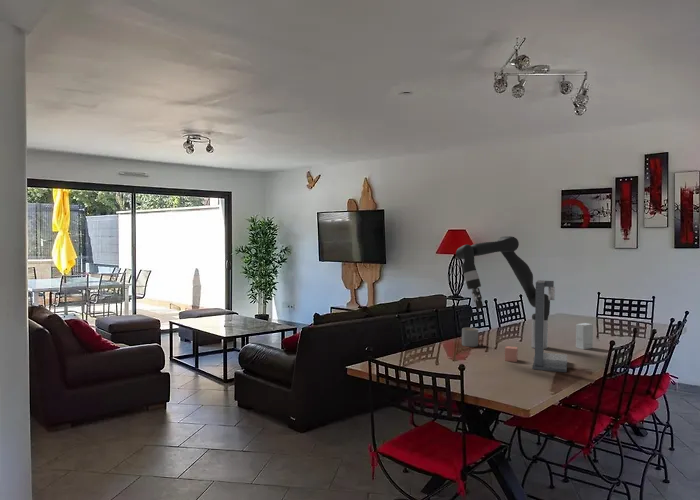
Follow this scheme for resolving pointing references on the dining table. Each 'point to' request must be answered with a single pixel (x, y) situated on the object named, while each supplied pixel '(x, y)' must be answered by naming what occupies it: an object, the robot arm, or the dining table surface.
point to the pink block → (511, 354)
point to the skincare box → (584, 336)
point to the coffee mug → (470, 337)
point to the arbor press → (543, 359)
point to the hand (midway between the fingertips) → (480, 308)
